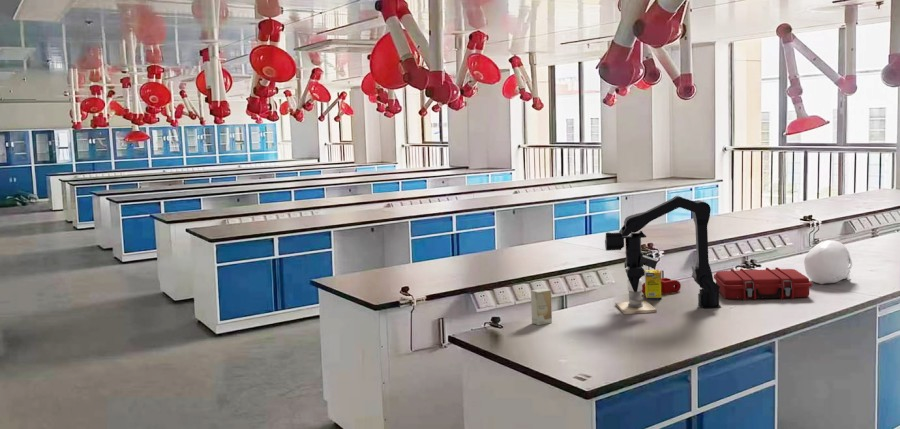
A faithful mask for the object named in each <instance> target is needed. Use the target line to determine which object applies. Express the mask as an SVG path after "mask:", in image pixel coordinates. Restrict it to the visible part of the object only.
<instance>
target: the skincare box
mask: <svg viewBox="0 0 900 429" xmlns="http://www.w3.org/2000/svg"><path fill="white" fill-rule="evenodd" d="M530 300H531V302H530V303H531V304H530V305H531V306H530V308H531V323H532V324H534V325H537V326H540V325H541V326H542V325H547V324H551V323H552V322H553V318H552V317H553V316H552V315H553V312H552V289H549V288H536V289H533V290H530Z"/></svg>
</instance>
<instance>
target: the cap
mask: <svg viewBox="0 0 900 429" xmlns="http://www.w3.org/2000/svg"><path fill="white" fill-rule="evenodd" d="M642 284H643V279H642V278H640V279H639V284H638V289H637V292H639V291H641V292H642ZM627 291H628V292H629V291H631V292H634V291H633V288H632V286H631V284H630V281H629V279H628V278H627Z"/></svg>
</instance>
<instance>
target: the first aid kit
mask: <svg viewBox="0 0 900 429" xmlns="http://www.w3.org/2000/svg"><path fill="white" fill-rule="evenodd" d="M713 280H715V283H716V284H717V285H718V286H720V288H719V294H720V295H721V296H723V298H725V299H728V300H738V299H739V300H741V299H742V300H743V301H746V299H752V300H753V301H756V299H780V300H784V298H790V299H791V300H794V299H795V298H809V296H810V287H813V281H810V278H809V277H808V276H806V275H804V274H802V273H801V272H799V271H798V270H797V269H794V268H779V267H775V269H771V268H769V267H766V268H765V269H749V270H748V269H743V268H740V270H739V269H738V270H735V269H734V268H730V270H719V271H716V272H715V273H714V274H713Z"/></svg>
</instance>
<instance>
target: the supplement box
mask: <svg viewBox="0 0 900 429" xmlns="http://www.w3.org/2000/svg"><path fill="white" fill-rule="evenodd" d="M644 271H645V276H644V283H645V294H644V295H645V299H646V301H647V300H648V301H649V300H654V301H655V300H662V293H661V278H662V273H661V270H660V269H644Z"/></svg>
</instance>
